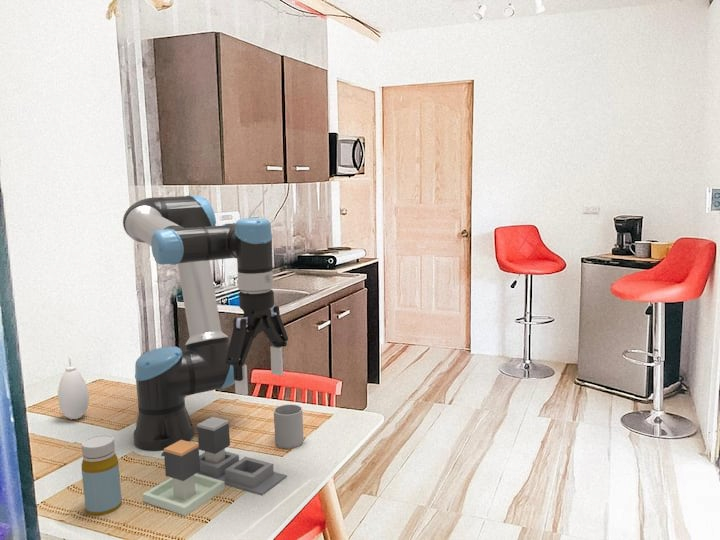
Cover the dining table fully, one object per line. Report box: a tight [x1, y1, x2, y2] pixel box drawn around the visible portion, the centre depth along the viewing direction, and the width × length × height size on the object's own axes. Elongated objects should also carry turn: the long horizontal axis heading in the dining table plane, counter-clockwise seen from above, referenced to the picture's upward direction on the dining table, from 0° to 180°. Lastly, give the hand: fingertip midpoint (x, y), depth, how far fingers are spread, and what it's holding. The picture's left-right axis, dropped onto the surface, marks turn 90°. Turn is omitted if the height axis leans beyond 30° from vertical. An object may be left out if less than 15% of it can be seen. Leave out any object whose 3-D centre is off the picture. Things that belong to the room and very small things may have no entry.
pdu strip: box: [161, 416, 288, 496], centre depth 144 cm, size 34×9×12 cm, turn 61°
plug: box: [163, 440, 200, 500], centre depth 133 cm, size 5×5×11 cm
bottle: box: [81, 434, 123, 516], centre depth 129 cm, size 7×7×15 cm
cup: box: [273, 404, 304, 450], centre depth 160 cm, size 7×10×9 cm
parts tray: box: [142, 473, 226, 517], centre depth 134 cm, size 12×12×2 cm
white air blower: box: [57, 358, 90, 420], centre depth 177 cm, size 8×8×18 cm
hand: (260, 383), depth 139 cm, fingers open, 13 cm apart
